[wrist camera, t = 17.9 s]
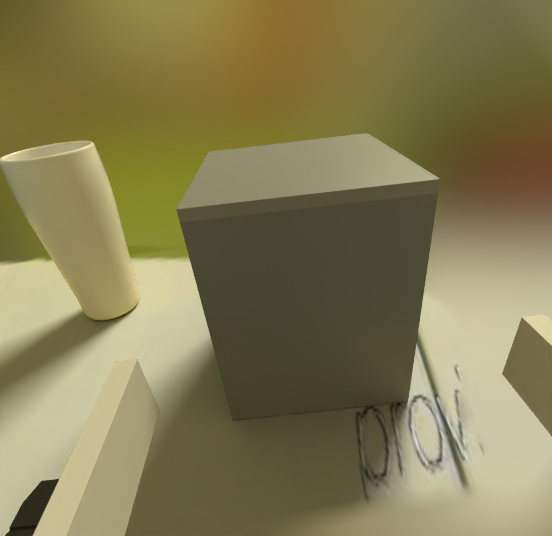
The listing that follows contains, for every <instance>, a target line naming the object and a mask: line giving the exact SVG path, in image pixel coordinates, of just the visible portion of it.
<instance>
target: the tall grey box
mask: <svg viewBox="0 0 552 536" xmlns="http://www.w3.org/2000/svg"><path fill="white" fill-rule="evenodd" d="M439 182H440V179H439V178H438V177H436V176H434V175H433V174H431V173H430V172H428V171H426V170H425V169H423V168H421V167H420V166H418V165H417V164H415V163H414V162H412V161H411V160H409V159H407V158H406V157H404V156H403V155H401V154H399V153H398V152H396V151H395V150H393V149H391V148H390V147H388V146H387V145H385V144H384V143H382V142H380V141H379V140H377V139H376V138H374V137H372V136H371V135H369V134H368V133H365V134H357V135H348V136H340V137H331V138H322V139H314V140H305V141H297V142H288V143H280V144H271V145H263V146H256V147H255V146H254V147H246V148H238V149H229V150H221V151H212V152H209V153H208V155H207V157H206V158H205V160H204V162H203V163H202V165H201V167H200V169H199V171H198V173H197V174H196V176H195V178H194V180H193V181H192V183H191V185H190V186H189V188H188V190H187V192H186V194H185V195H184V197H183V199H182V201H181V202H180V204H179V206H178V208H177V213H178V217H179V220H180V224H181V228H182V232H183V235H184V239H185V243H186V247H187V250H188V254H189V258H190V262H191V265H192V269H193V273H194V276H195V280H196V284H197V288H198V291H199V295H200V299H201V303H202V306H203V310H204V314H205V317H206V321H207V325H208V329H209V332H210V336H211V340H212V344H213V347H214V351H215V355H216V358H217V362H218V366H219V370H220V373H221V377H222V381H223V385H224V388H225V392H226V396H227V400H228V403H229V407H230V411H231V414H232V418H233V420H240V419H250V418H259V417H269V416H278V415H288V414H297V413H307V412H316V411H326V410H335V409H344V408H354V407H363V406H373V405H382V404H392V403H401V402H408V398H409V391H410V384H411V377H412V370H413V363H414V356H415V349H416V342H417V335H418V328H419V321H420V314H421V307H422V300H423V293H424V287H425V280H426V273H427V265H428V259H429V252H430V245H431V238H432V231H433V224H434V217H435V210H436V203H437V196H438V188H439Z"/></svg>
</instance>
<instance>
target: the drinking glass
mask: <svg viewBox="0 0 552 536" xmlns="http://www.w3.org/2000/svg"><path fill="white" fill-rule="evenodd" d="M0 167H1V169H2V172H3V174H4V176H5V178H6V181H7V182H8V185H9V187H10V189H11V191H12V193H13V195H14V197H15V199H16V201H17V203H18V205H19V206H20V208H21V210H22V212H23V214H24V215H25V217H26V219H27V220H28V222H29V223H30V225H31V227H32V228H33V230H34V231H35V233H36V235H37V236H38V238H39V239H40V241H41V242H42V244H43V246H44V247H45V248H46V250H47V252H48V253H49V255H50V256H51V258H52V260H53V261H54V263H55V264H56V266H57V268H58V269H59V271H60V272H61V274H62V275H63V277H64V279H65V280H66V282H67V283H68V285H69V287H70V288H71V290H72V291H73V293H74V295H75V296H76V298H77V300H78V302H79V304H80V306H81V308H82V310H83V312H84V313H85V315H86V316H88V317H89V318H91V319H94V320H108V319H113V318H116V317H119V316H121V315H123V314H125V313H127V312H129V311H130V310H131V309H133V308H134V307H135V306H136V305H137V303H138V302H139V300H140V297H141V292H140V288H139V286H138V283H137V280H136V278H135V274H134V270H133V267H132V263H131V260H130V256H129V252H128V248H127V245H126V241H125V237H124V233H123V229H122V225H121V222H120V218H119V214H118V210H117V206H116V203H115V199H114V196H113V192H112V189H111V186H110V183H109V180H108V177H107V174H106V172H105V169H104V166H103V164H102V161H101V159H100V157H99V154H98V152H97V149H96V147H95V144H94V143H93V142H91V141H74V142H64V143H57V144H51V145H45V146H40V147H35V148H30V149H26V150H22V151H18V152H15V153H11V154H8V155H6V156H3V157H1V158H0Z"/></svg>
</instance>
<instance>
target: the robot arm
mask: <svg viewBox="0 0 552 536" xmlns="http://www.w3.org/2000/svg"><path fill="white" fill-rule="evenodd" d="M502 374H503V375H504V376H505V378H506V379H507V380H508V382H509V383H510V384H511V385H512V387H513V388H514V389H515V390H516V392H517V393H518V394H519V395H520V397H521V398H522V399H523V400H524V402H525V403H526V404H527V406H528V407H529V408H530V409H531V411H532V412H533V413H534V414H535V416H536V417H537V418H538V419H539V421H540V422H541V423H542V424H543V426H544V427H545V428H546V430H547V431H548V432H549V433H550V435H551V436H552V321H551V320H550V319H549V318H548V317H547V316H546V315H538V316H528V317H522V318H521V321H520V324H519V327H518V330H517V333H516V336H515V339H514V341H513V344H512V347H511V350H510V353H509V356H508V359H507V361H506V364H505V367H504V370H503V373H502ZM158 414H159V409H158V406H157V404H156V402H155V399H154V397H153V395H152V392H151V390H150V388H149V385H148V383H147V381H146V378H145V376H144V374H143V372H142V369H141V367H140V365H139V362H138V360H137V359H136V360H127V361H118V362H115V363H114V365H113V367H112V369H111V371H110V373H109V376H108V378H107V380H106V382H105V384H104V386H103V388H102V390H101V392H100V395H99V397H98V399H97V401H96V403H95V405H94V407H93V409H92V411H91V414H90V416H89V418H88V420H87V422H86V424H85V426H84V428H83V430H82V433H81V435H80V437H79V439H78V441H77V443H76V445H75V447H74V450H73V452H72V454H71V456H70V458H69V460H68V462H67V464H66V466H65V469H64V471H63V473H62V475H61V477H60V479H55V480H46V481H41V482H40V483H39V485H38V486H37V487H36V488H35V489H34V490H33V492H32V493H31V494H30V495H29V496H28V497H27V499H26V500H25V501H24V502H23V503H22V505H21V507H20V509H19V511H18V513H17V515H16V517H15V519H14V520H13V522H12V524H11V526H10V531H9V532H8V533H7V534H6V535H5V536H125V533H126V529H127V525H128V522H129V518H130V515H131V511H132V507H133V504H134V500H135V497H136V493H137V490H138V486H139V482H140V479H141V475H142V472H143V468H144V464H145V461H146V457H147V454H148V450H149V446H150V443H151V439H152V436H153V432H154V429H155V425H156V421H157V418H158Z"/></svg>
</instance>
